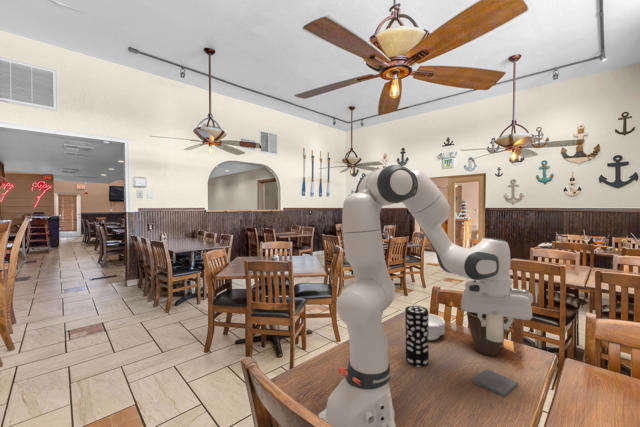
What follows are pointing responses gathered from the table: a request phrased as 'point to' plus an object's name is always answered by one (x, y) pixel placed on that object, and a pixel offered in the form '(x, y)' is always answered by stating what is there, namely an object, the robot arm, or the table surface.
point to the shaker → (494, 327)
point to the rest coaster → (495, 382)
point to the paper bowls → (435, 326)
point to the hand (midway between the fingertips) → (494, 328)
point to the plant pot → (483, 335)
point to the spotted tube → (417, 336)
